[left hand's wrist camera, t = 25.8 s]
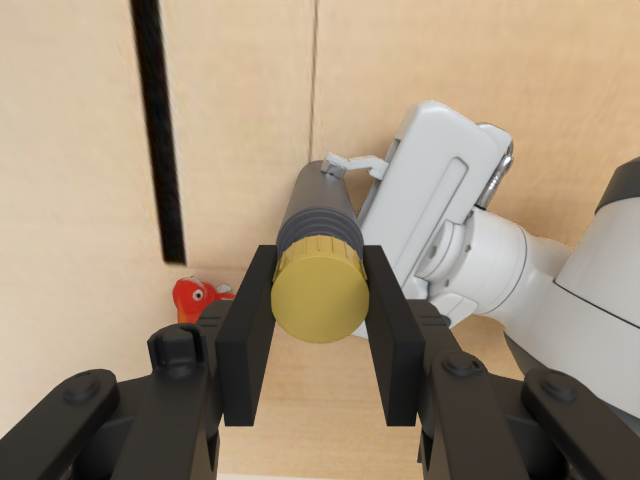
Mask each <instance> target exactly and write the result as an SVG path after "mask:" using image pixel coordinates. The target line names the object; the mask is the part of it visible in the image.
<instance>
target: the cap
mask: <svg viewBox="0 0 640 480" xmlns="http://www.w3.org/2000/svg"><path fill="white" fill-rule="evenodd" d="M366 280H368V279H367V276H366V272H365V269H364V265H363V262H362V261H360V259H359V257H358V255H357V252H356V250H353V249H352V248H351V247H350V246H349V245H348V244H347V243H346V242H343V241H341V240H339V239H337V238H334V237H333V236H332V237H330V236H323V235H318V236H310V237H305V238H303V239H301V240H299V241H297V242H295V243H292V245H291V246H290V247H289V248H288V249H287V250H286V251H284V252H283V255H282V257H281V259H280V261H279V262H278V263H277V266H276V269H275V273H274V276H273V280H272V281H273V286H272V289H271V305H272V312H273V315H274V317H275V319H276V321H277V322H278V323H279V325H280V326H281V327H282V328H283V329H284V330H285V331H286V332H287V333H289V334H290V335H292V336H293V337H295V338H297V339H300V340H303V341H306V342H311V343H330V342H334V341H338V340H340V339H343V338H345V337H347V336H349V335H350V334H352V333H353V332H354V331H355V330H356V329H358V327H359V326H360V325H361V324H362V322H363V321H364V319H365V317H366V315H367V313H368V309H369V289H368V285H367V281H366Z"/></svg>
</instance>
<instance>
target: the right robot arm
mask: <svg viewBox="0 0 640 480" xmlns="http://www.w3.org/2000/svg"><path fill="white" fill-rule="evenodd" d="M506 150H507V153H506V154H504V153H505V152H506ZM512 152H513V140H512V137H511V136H510V135H509V133H508V132H506V131H505V130H503V129H501V128H499V127H497V126H495V125H493V124H490V123H486V122H481V123H476V124H475V123H473V122H472V121H471V120H469V119H468V118H466V117H465V116H463V115H462V114H460V113H458V112H457V111H455V110H453V109H452V108H450V107H448V106H446V105H444V104H442V103H440V102H438V101H435V100H424V101H421V102H418V103H416V104H413V105H411V106H410V107H409V108H408V110H407V112H406V114H405V116H404V118H403V121H402V123H401V125H400V127H399V129H398V131H397V133H396V135H395V138H394V140H393V142H392V144H391V146H390V148H389V150H388V153H387V155H386V157H385V159H384V160H383V159H381V158H378V157H376V156H374V155H366V156H359V157H352V158H348V159H345V158H343V157H341V156H338V155H336V154H334V153H331V152H328V151H327V154H326V156H325V159H324V161H323V164H322V167H321V171H323V172H325V173H327V174H331V173H332V174H333V176H335V177H337V178H339V179H341V180H342V177H343V175H344V173H345V171H346V170H353V169H362V168H366V171H367V173H368V174H369V175H370V176H373V177H375V180H374V182H373V184H372V187H371V189H370V191H369V193H368V195H367V197H366V199H365V202H364V204H363V206H362V208H361V210H360V212H359V214H358V216H357V221H358V224H359V227H360V230H361V232H362V235H363V239H364V245H381V246H382V248H383V251H384V253H385V255H386V257H387V259H388V261H389V263H390V266H391V268H392V270H393V272H394V274H395V276H396V279H397V281H398V283H399V285H400V287H401V289H402V292H403V294H404V296H405V298H406V299H426V300H427V301H429V302H430V303H431V304H433V305H434V306H435V307H437V309H438V311H439V312H440V314H441V316H442V318H443V319H444V321H445V322H446V325H447V326H448V327H449V329H451V328H452V327H454V326H455V325H456V324H458V323H459V322H460V321H462V320H463V319H465V318H467V317H468V316H470V315H471V314H472V315H478V316H486V317H490V318H492V319H495V320H497V321H498V322H500V323H501V324H503V325H504V327H505V331H504V336H505V339H506V342H507V344H508V346H509V348H510V350H511V352H512V355H513V357H514V359H515V360H516V363H517V365H518V367H519V368H520V370H521V371H522V373H523V374H524V376H525V374H526V373H527V372H528V371H529V370H530V369H534V368H538V367H541V368H551V369H554V370H557V371H561V372H564V373H566V374H568V375H570V376H572V377H574V378H576V379H577V380H578V381H580V382H581V383H582V384H584V385H585V386H586V387H587V388H588V389H589V390H591V391H592V392H593V393H594V394H595V395H596V396H597V397H598V398H599V399H600V400H601V401H602V402H603V403H604V404H605V405H606V406H607V407H608V408H609V409H611V410H612V411H613V412H614V413H615V414H616V415H617V416H618V417H619V418H620V419H621V420H622V421H623V422H624V423H625V424H626V425H627V426H628V427H629V428H631V429H632V430H633V431H634V432H635V433H636V434H637V435H638V436H639V437H640V157H637V158H635V159H633V160H631V161H629V162H627V163H625V164H623V165H621V166H619V167H618V168H617V169H616V170H615V172H614V174H613V176H612V178H611V180H610V182H609V184H608V186H607V188H606V190H605V193H604V195H603V197H602V199H601V201H600V203H599V205H598V207H597V209H596V211H595V216H594V218H593V220H592V221H591V223H590V225H589V226H588V228H587V229H586V231H585V233H584V234H583V236H582V237H581V239H580V241H579V242H578V244H577V246H576V247H575V249H574V248H572V247H570V246H567V245H565V244H563V243H561V242H558V241H556V240H553V239H549V238H544V237H535V236H533V235H531V234H529V233H528V232H527V231H526V230H525V229H524V228H523V227H521V226H520V225H518V224H516V223H514V222H512V221H509V220H507V219H505V218H503V217H500V216H498V215H496V214H493V213H491V212H489V211H487V210H486V208H487V206H488V204H489V203H490V201H491V199H492V198H493V196H494V194H495V193H496V191H497V188H498V185H499V184H500V182H501V180H502V178H503V177H504V175H505V174H507V172H508V171H509V169H510V168H511V166H512V163H513V161H514V158H513V157H511V156H512ZM351 335H355V336H358V337H362V338H366V339H368V335H367V330H366V325H365V321H363V322H362V324H361V325H360V326H359V327H358V329H356V330H355V331H354V332H353V333H352V334H351Z"/></svg>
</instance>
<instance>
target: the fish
mask: <svg viewBox="0 0 640 480" xmlns="http://www.w3.org/2000/svg"><path fill="white" fill-rule="evenodd" d="M229 291H231V287H230V286H228V285H225V284H221V285H219V286H218V287H217V288H216V287H214V286H213V285H211V284H210V283H208V282H206V281H203V280H200V279H196V278H193V276H192V277H190V278H182V279H180V280H178V281H177V282H176V285H175V287H174V288H173V299H174V303H175V305H176V307H177V309H178V323H194V324H195V323H196V321H197V319H199V316H200V314H201V313H202V311H203V309H204V308H205V307H206V306H208V305H209V304H210V303H212V302H213V301H214V300H234V299H235V295H233V294H230V293H227V292H229Z"/></svg>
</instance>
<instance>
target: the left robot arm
mask: <svg viewBox="0 0 640 480" xmlns="http://www.w3.org/2000/svg"><path fill="white" fill-rule="evenodd" d="M362 262H363V265H364V269H365V272H366V276H367V279H368V280H366V281H367V285H368V289H369V309H368V313H367V315H366V317H365V319H364V321H365V325H366V330H367V335H368V339H369V344H370V349H371V353H372V358H373V363H374V367H375V372H376V377H377V381H378V386H379V391H380V395H381V400H382V405H383V409H384V414H385V419H386V424H387V426H415V424H416V416H417V412H418V415H419V418H420V421H421V424H422V430H421V438H420V445H419V452H418V460H417V462H418V463H422V466H423V476H424V480H640V437H639V436H638V435H637V434H636V433H635V432H634V431H633V430H632V429H631V428H629V427H628V426H627V425H626V424H625V423H624V422H623V421H622V420H621V419H620V418H619V417H618V416H617V415H616V414H615V413H614V412H613V411H612V410H611V409H609V408H608V407H607V406H606V405H605V404H604V403H603V402H602V401H601V400H600V399H599V398H598V397H597V396H596V395H595V394H594V393H593V392H592V391H591V390H589V389H588V388H587V387H586V386H585V385H584V384H582V383H581V382H580V381H578V380H577V379H576V378H574V377H572V376H570V375H568V374H566V373H564V372H561V371H557V370H554V369H551V368H541V367H538V368H534V369H530V370H529V371H528V372H527V373H526V374H525V377H524V381H519V380H515V379H510V378H506V377H501V376H498V375H494V374H491V373H489V372H488V370H487V369H486V367H485V366H484V364H483V363H482V362H481V361H480V360H479V359H477V358H476V357H475V356H473V355H471V354H468V353H466V352H464V351H462V349H461V347H460V346H459V344H458V342H457V341H456V339H455V337H454V336H453V334H452V332H451V331H450V329H449V327H448V326H447V325H446V322H445V321H444V319H443V318H442V316H441V314H440V312H439V311H438V309H437V307H435V306H434V305H433V304H431V303H430V302H429V301H427V300H426V299H406V298H405V296H404V294H403V292H402V289H401V287H400V285H399V283H398V281H397V279H396V276H395V274H394V272H393V270H392V268H391V266H390V263H389V261H388V259H387V257H386V255H385V253H384V251H383V248H382V246H381V245H363V257H362ZM277 263H278V252H277V245H259V247H258V249H257V251H256V253H255V255H254V258H253V260H252V262H251V264H250V266H249V268H248V270H247V273H246V275H245V277H244V279H243V281H242V283H241V286H240V288H239V290H238V292H237V294H236V296H235V299H234V300H214V301H213V302H212V303H210V304H209V305H208V306H206V307H205V308H204V309H203V311H202V313H201V314H200V316H199V319H197V321H196V323H195V324H194V323H178V324H173V325H170V326H167V327H165V328H162V329H160V330H159V331H157V332H156V333H154V334H153V335H152V336H151V337H150V338H149V340H148V341H147V345H148V349H149V354H150V359H151V364H152V369H153V371H152V373H151V374H150V375H148V376H144V377H141V378H137V379H132V380H128V381H123V382H119V383H117V380H116V376H115V375H114V374H113V373H112V372H111V371H110V370H105V369H94V370H88V371H85V372H81V373H78V374H76V375H74V376H72V377H70V378H68V379H66V380H64V381H63V382H62V383H60V384H59V385H58V386H56V387H55V388H54V389H53V390H52V391H51V392H50V393H49V394H48V395H47V396H46V397H45V398H44V399H42V400H41V401H40V402H39V403H38V404H37V405H36V406H35V407H34V408H33V409H32V410H31V411H30V412H29V413H28V414H27V415H26V416H25V417H24V418H23V419H22V420H21V421H19V422H18V423H17V424H16V425H15V426H14V427H13V428H12V429H11V430H10V431H9V432H8V433H7V434H6V435H5V436H4V437H3V438H2V439H1V440H0V480H216V477H217V467H218V456H219V446H220V438H219V430H218V426H219V423H220V420H221V417H222V414H224V422H225V426H253V425H254V420H255V415H256V411H257V406H258V401H259V397H260V392H261V387H262V382H263V378H264V373H265V368H266V364H267V359H268V354H269V350H270V345H271V340H272V336H273V331H274V326H275V322H276V319H275V317H274V315H273V312H272V305H271V289H272V286H273V281H272V280H273V276H274V273H275V269H276V266H277ZM575 470H576V471H575Z"/></svg>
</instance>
